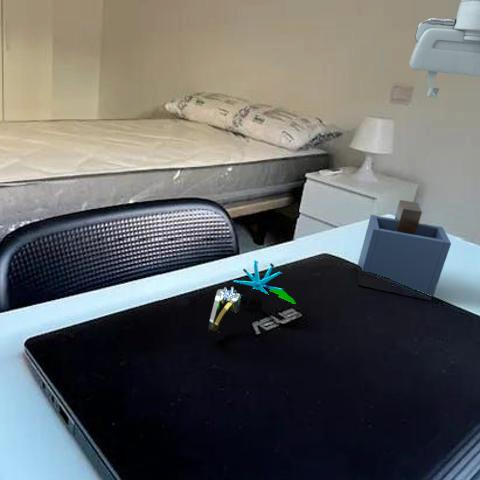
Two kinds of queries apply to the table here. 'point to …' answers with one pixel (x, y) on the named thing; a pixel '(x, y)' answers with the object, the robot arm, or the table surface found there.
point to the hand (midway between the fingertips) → (458, 100)
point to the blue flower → (260, 284)
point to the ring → (232, 302)
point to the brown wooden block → (408, 217)
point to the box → (405, 253)
